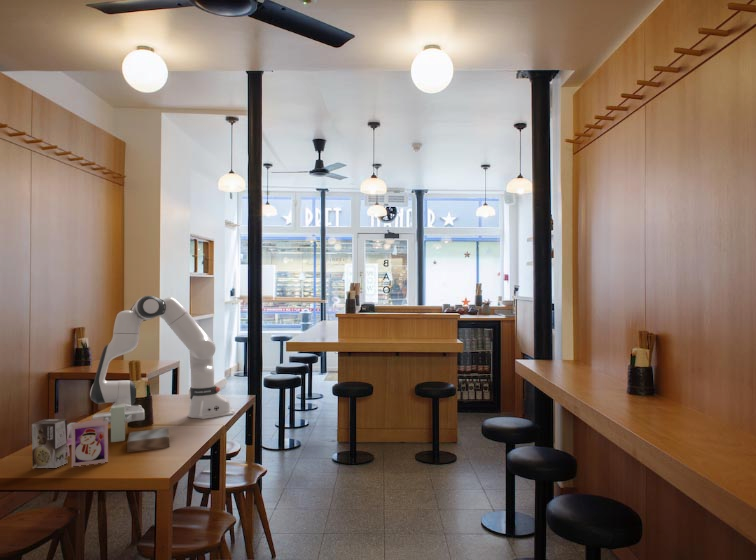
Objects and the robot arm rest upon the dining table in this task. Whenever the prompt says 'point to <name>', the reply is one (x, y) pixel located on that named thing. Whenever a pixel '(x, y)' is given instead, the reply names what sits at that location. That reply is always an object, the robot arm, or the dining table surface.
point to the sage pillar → (118, 423)
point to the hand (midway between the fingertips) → (117, 421)
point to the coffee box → (49, 443)
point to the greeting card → (90, 442)
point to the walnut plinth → (148, 440)
